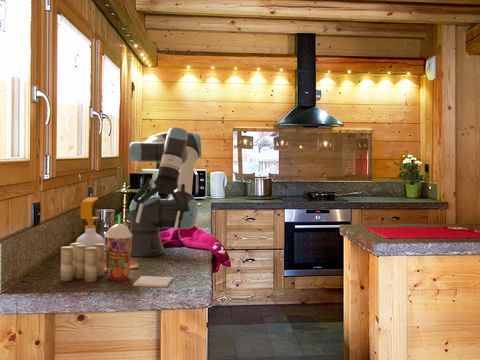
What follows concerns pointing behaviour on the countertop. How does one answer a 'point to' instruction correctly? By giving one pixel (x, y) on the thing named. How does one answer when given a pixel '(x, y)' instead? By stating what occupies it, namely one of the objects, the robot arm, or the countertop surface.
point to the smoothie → (118, 251)
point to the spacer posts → (82, 262)
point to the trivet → (153, 281)
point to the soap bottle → (89, 224)
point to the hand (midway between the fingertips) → (156, 226)
